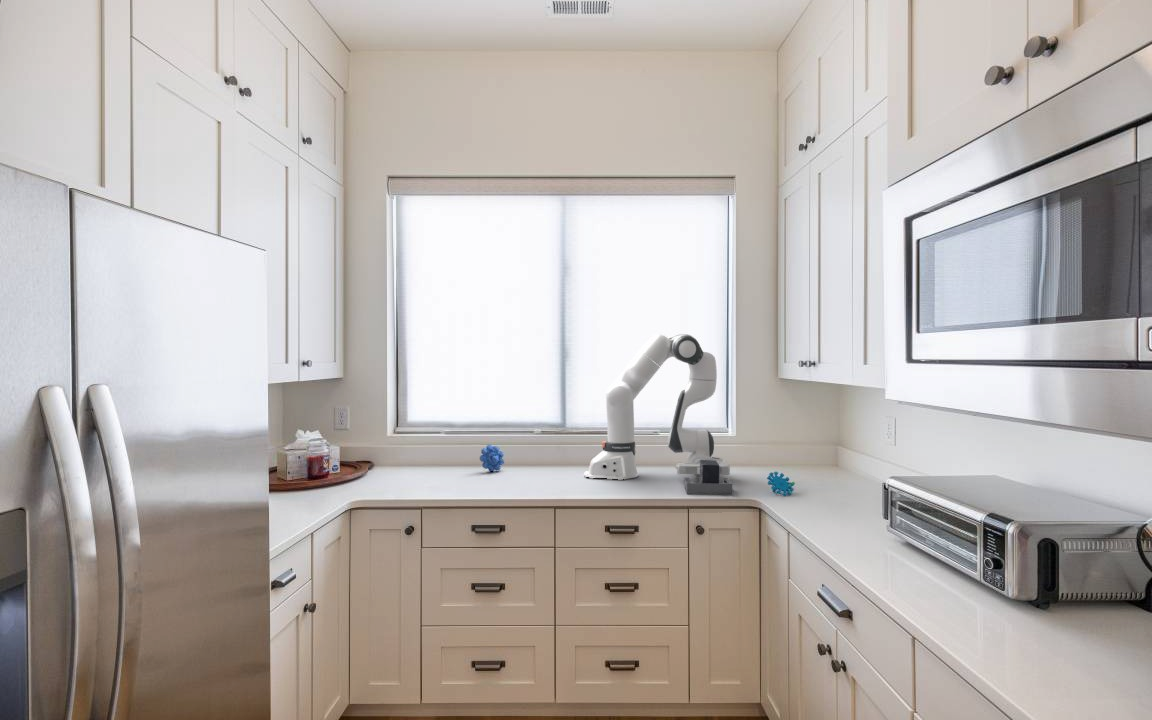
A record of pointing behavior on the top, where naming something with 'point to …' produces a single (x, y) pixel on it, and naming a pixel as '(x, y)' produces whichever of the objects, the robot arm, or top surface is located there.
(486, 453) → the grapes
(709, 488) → the centring channel
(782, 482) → the blue virus model
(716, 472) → the small box
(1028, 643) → the top surface
